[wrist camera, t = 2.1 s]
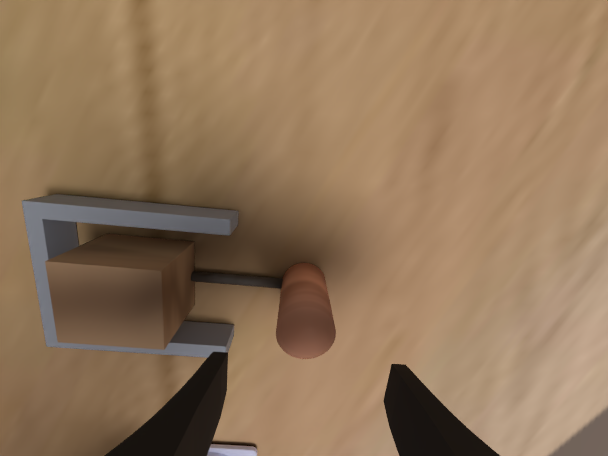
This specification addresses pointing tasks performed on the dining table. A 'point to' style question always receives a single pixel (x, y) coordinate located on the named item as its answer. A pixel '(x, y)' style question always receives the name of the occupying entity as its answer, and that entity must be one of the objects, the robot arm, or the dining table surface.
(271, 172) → the dining table surface
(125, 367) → the dining table surface
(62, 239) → the grey u-shaped bracket
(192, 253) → the tethered block
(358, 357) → the dining table surface
